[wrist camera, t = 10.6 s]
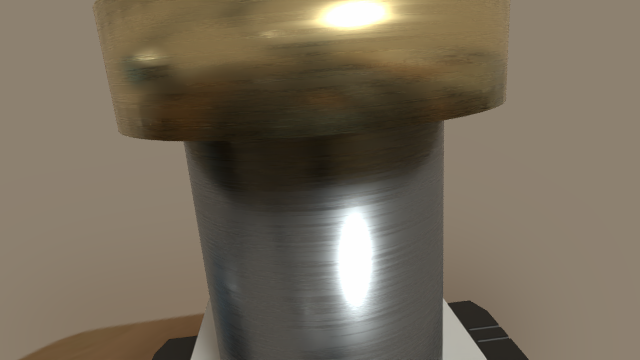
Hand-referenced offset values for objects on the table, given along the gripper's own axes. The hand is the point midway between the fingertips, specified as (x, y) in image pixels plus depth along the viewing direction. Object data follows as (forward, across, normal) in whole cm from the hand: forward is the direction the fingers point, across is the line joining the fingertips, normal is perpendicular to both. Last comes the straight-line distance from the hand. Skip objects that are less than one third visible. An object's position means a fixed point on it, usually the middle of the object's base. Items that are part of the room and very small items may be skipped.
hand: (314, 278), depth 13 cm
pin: (-5, 0, -9) cm, 10 cm away
